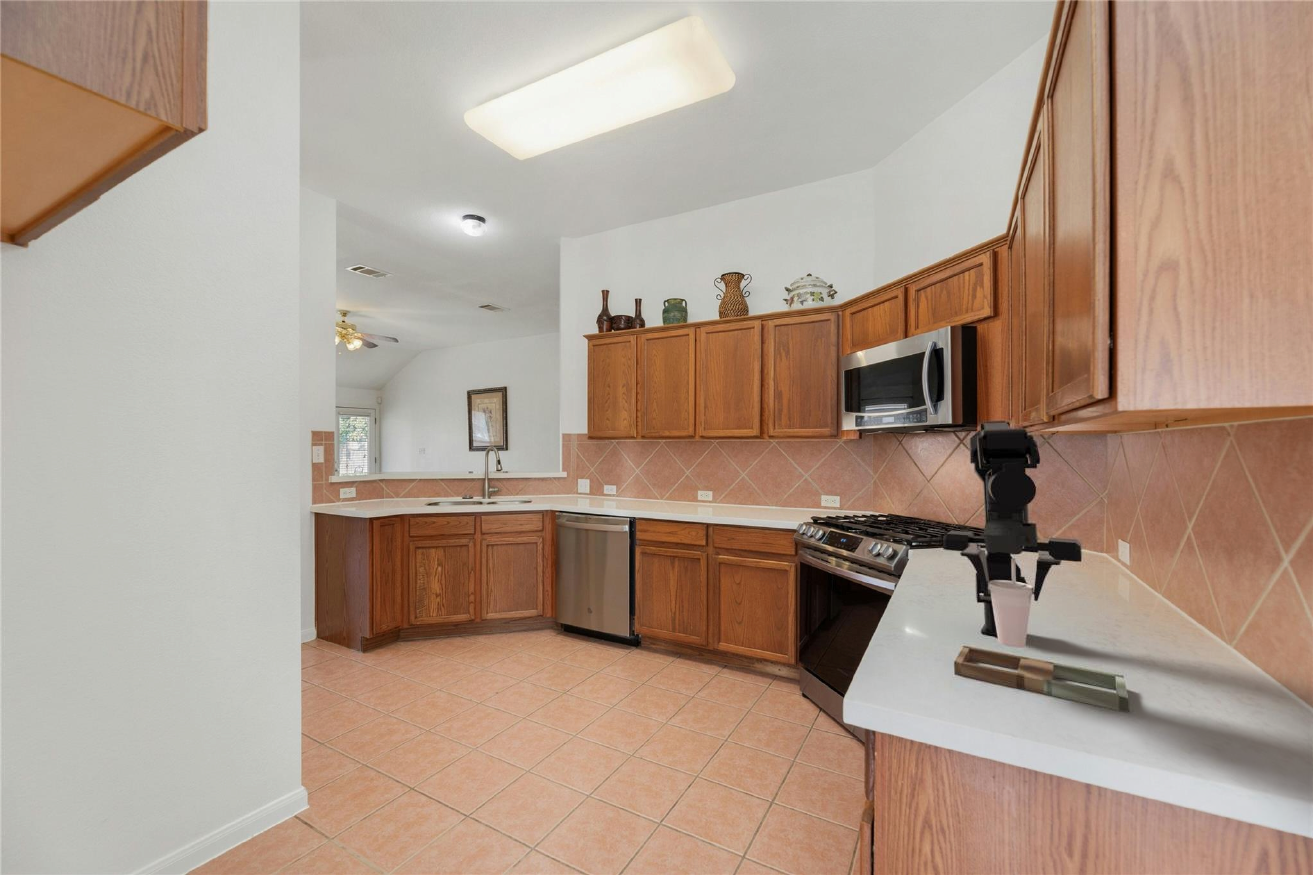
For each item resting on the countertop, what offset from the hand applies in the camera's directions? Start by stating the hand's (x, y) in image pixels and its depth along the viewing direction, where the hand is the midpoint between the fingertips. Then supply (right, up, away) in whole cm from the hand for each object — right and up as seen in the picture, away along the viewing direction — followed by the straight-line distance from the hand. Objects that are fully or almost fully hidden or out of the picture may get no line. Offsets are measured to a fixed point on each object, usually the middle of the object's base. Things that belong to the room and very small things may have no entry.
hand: (1011, 597), depth 85 cm
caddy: (+2, -13, -2) cm, 13 cm away
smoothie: (0, -8, 0) cm, 8 cm away
